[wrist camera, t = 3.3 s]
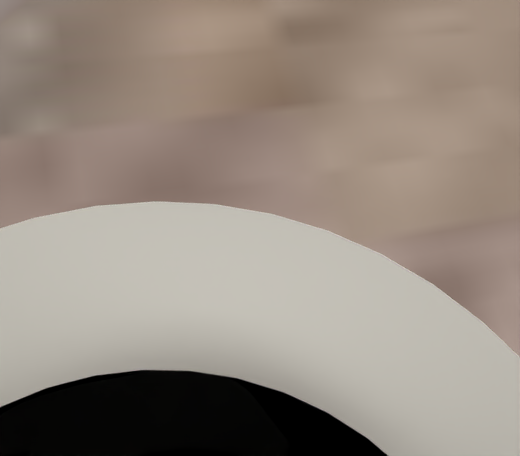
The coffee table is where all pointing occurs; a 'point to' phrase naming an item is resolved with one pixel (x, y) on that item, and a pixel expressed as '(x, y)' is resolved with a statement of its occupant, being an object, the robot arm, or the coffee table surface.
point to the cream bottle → (236, 343)
